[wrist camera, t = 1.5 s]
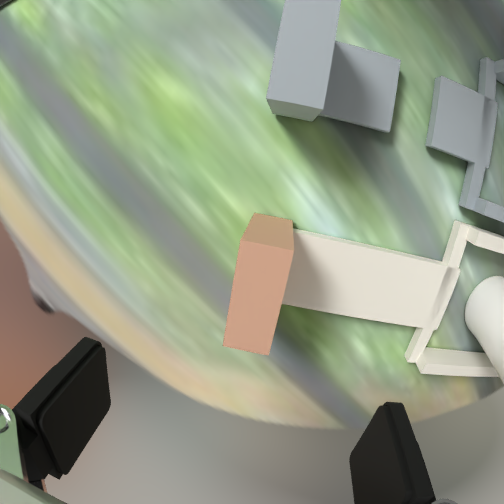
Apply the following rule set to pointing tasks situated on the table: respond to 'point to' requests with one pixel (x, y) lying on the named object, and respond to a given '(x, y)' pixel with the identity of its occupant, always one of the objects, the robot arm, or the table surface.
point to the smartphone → (4, 2)
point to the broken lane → (379, 92)
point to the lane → (349, 288)
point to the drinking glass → (488, 319)
